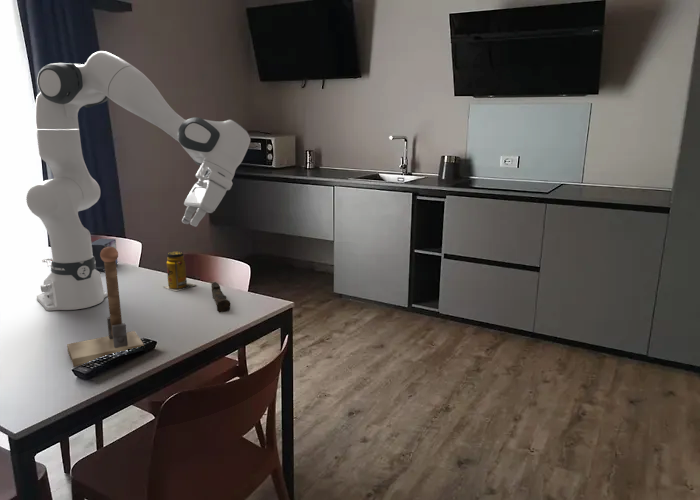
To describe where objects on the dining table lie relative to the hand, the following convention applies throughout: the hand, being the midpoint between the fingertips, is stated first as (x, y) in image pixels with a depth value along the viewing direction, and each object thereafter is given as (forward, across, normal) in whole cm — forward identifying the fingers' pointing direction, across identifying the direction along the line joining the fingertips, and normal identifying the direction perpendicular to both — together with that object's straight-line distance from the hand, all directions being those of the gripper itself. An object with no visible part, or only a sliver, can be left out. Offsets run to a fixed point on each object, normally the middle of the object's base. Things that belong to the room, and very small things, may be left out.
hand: (188, 224), depth 145 cm
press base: (+37, +1, -3) cm, 38 cm away
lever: (+34, +1, -2) cm, 34 cm away
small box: (+26, -80, -2) cm, 84 cm away
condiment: (+18, -44, +18) cm, 50 cm away
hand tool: (+17, -22, +25) cm, 37 cm away
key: (+34, -98, -18) cm, 105 cm away
